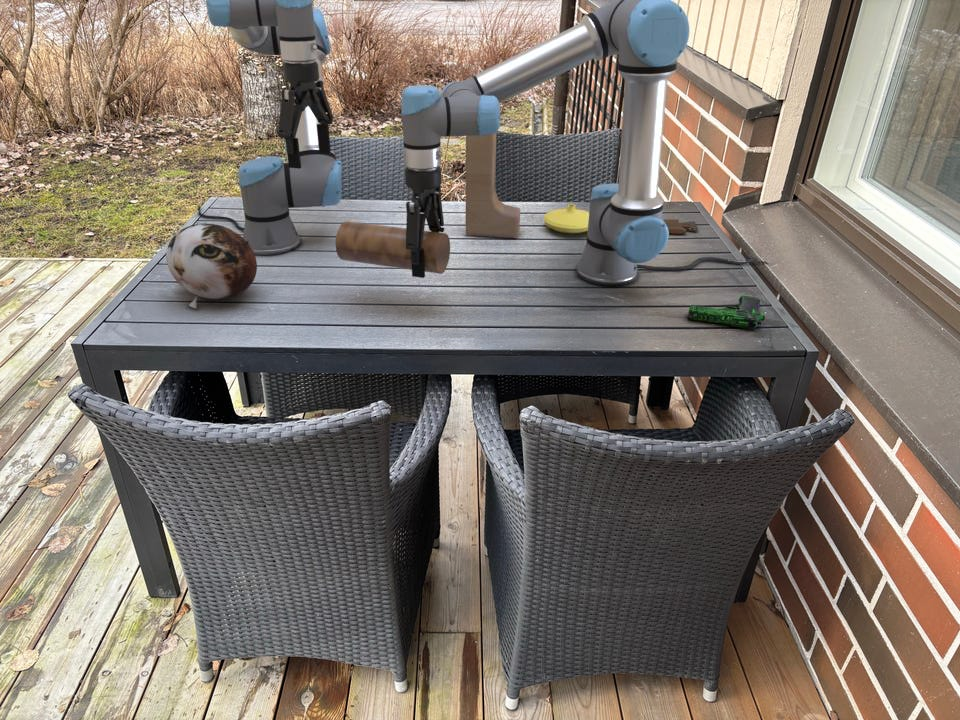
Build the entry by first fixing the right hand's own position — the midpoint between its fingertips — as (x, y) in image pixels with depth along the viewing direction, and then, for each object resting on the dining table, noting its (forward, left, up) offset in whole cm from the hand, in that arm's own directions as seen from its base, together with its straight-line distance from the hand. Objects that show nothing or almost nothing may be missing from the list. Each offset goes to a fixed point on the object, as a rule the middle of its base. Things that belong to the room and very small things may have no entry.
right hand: (426, 268), depth 158 cm
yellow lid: (-59, -32, -11) cm, 68 cm away
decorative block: (-37, -38, -11) cm, 54 cm away
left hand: (+16, -29, +18) cm, 38 cm away
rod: (+6, -6, -1) cm, 8 cm away
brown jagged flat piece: (-82, -21, -11) cm, 85 cm away
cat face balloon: (+42, -29, -11) cm, 52 cm away
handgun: (-61, +31, -11) cm, 70 cm away
